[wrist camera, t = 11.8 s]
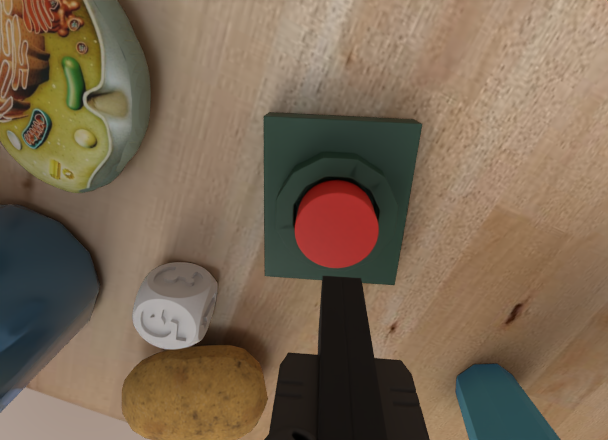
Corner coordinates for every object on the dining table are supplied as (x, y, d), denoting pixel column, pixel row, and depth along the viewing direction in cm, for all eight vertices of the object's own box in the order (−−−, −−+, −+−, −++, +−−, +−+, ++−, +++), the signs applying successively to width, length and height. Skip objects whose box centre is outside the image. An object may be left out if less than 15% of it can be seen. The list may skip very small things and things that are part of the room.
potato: (275, 399, 35) (264, 472, 29) (154, 395, 36) (117, 464, 30) (269, 328, 31) (254, 393, 25) (135, 325, 32) (88, 387, 26)
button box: (389, 270, 28) (399, 299, 24) (269, 262, 29) (260, 290, 25) (414, 119, 23) (430, 128, 20) (268, 112, 24) (258, 119, 20)
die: (214, 314, 31) (195, 356, 27) (160, 303, 31) (131, 343, 26) (220, 268, 29) (200, 305, 25) (162, 256, 29) (131, 290, 24)
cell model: (15, 194, 25) (-225, -82, 14) (89, 137, 30) (-46, -95, 19) (142, 214, 22) (-34, -104, 12) (199, 148, 27) (112, -113, 17)
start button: (369, 251, 24) (373, 271, 21) (296, 246, 24) (293, 265, 21) (378, 181, 22) (384, 195, 19) (299, 177, 22) (295, 189, 19)
